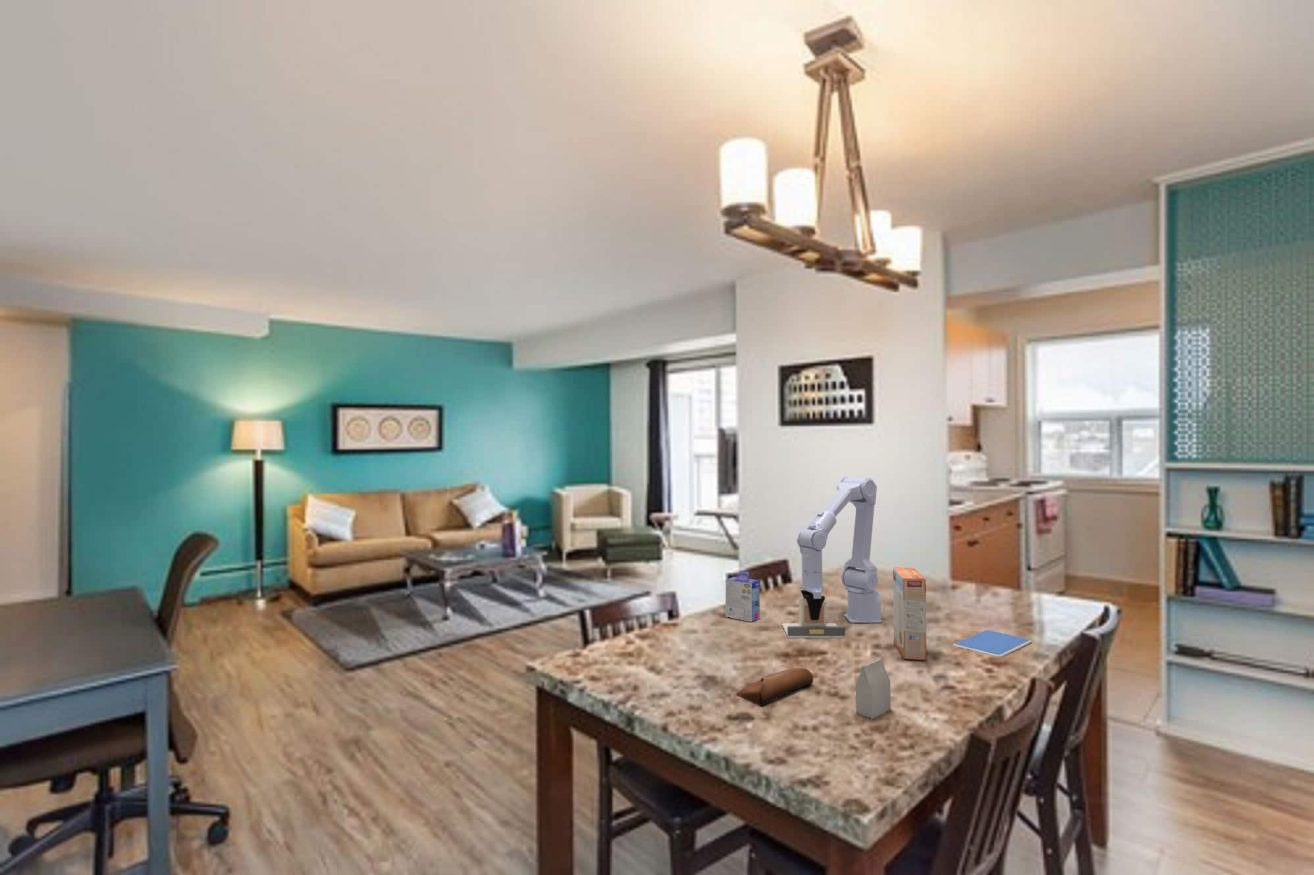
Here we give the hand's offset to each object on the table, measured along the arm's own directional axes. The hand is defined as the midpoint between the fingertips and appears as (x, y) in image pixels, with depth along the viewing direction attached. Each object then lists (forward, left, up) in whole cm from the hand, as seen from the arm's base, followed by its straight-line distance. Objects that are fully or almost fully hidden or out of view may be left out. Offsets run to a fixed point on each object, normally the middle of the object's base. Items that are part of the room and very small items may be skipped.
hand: (813, 617), depth 180 cm
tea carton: (0, 0, -3) cm, 3 cm away
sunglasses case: (+17, +42, -5) cm, 45 cm away
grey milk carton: (-2, +52, -5) cm, 52 cm away
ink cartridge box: (+19, -15, -5) cm, 25 cm away
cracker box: (-22, +16, -5) cm, 28 cm away
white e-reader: (0, -1, -4) cm, 5 cm away
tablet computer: (-46, +10, -5) cm, 47 cm away
